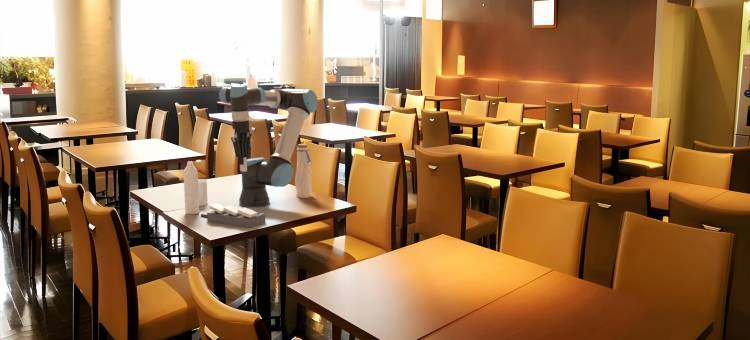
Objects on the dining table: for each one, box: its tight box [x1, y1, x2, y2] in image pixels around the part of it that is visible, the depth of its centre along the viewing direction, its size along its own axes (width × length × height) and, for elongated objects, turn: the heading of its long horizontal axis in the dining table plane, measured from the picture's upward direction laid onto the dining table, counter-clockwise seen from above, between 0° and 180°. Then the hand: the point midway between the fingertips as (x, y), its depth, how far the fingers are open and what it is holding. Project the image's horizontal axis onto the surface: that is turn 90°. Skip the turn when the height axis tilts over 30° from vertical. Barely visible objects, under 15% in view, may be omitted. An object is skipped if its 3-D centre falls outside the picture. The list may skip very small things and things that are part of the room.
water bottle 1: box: [182, 159, 202, 215], centre depth 290 cm, size 9×6×25 cm
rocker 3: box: [237, 206, 259, 218], centre depth 271 cm, size 5×7×1 cm
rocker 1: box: [208, 202, 226, 214], centre depth 277 cm, size 5×7×1 cm
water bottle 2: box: [294, 143, 313, 199], centre depth 325 cm, size 10×9×28 cm
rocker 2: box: [223, 204, 240, 216], centre depth 274 cm, size 5×7×1 cm
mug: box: [198, 178, 209, 207], centre depth 306 cm, size 8×12×12 cm
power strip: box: [200, 210, 266, 229], centre depth 278 cm, size 11×33×5 cm, turn 64°
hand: (243, 171), depth 281 cm, fingers closed
